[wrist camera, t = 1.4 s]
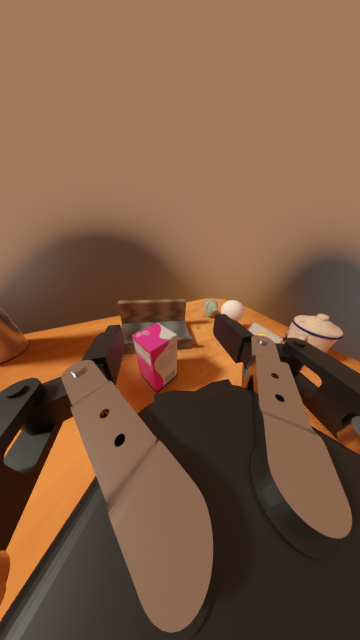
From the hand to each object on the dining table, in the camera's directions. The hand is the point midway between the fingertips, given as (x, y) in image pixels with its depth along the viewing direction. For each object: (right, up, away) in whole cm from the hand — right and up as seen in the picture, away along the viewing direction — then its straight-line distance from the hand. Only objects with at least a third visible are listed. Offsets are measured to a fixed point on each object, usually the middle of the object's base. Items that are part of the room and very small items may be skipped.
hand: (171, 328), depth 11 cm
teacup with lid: (+32, -8, +24) cm, 41 cm away
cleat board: (-7, -4, +28) cm, 29 cm away
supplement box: (-4, -12, +17) cm, 21 cm away
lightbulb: (+16, -3, +31) cm, 35 cm away
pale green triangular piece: (+12, +2, +39) cm, 41 cm away
